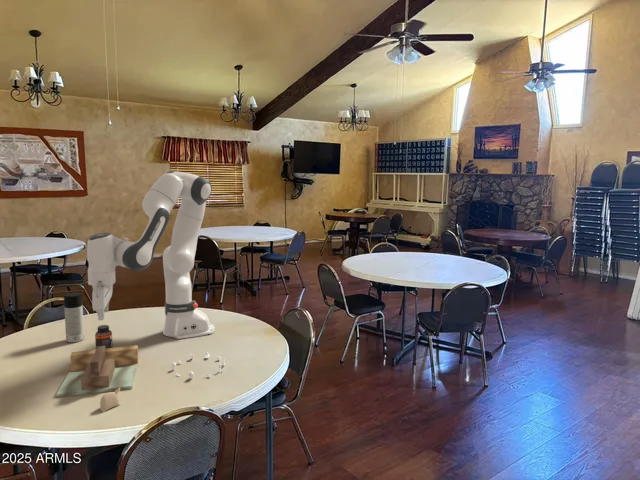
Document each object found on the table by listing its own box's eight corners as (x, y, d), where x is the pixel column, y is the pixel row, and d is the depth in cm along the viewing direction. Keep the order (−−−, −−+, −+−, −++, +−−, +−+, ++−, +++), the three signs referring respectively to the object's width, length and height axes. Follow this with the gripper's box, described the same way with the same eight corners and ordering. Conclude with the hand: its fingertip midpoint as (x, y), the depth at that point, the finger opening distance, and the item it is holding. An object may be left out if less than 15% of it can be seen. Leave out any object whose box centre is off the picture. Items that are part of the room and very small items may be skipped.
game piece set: (207, 385, 149) (207, 374, 149) (159, 374, 156) (159, 364, 156) (237, 363, 167) (237, 353, 167) (193, 354, 174) (192, 345, 174)
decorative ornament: (96, 409, 132) (95, 395, 131) (118, 399, 137) (118, 386, 137) (102, 412, 130) (102, 398, 129) (124, 403, 136) (124, 389, 135)
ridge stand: (136, 368, 160) (135, 342, 158) (132, 388, 145) (131, 359, 143) (68, 375, 153) (66, 348, 152) (56, 397, 138) (54, 367, 137)
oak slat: (138, 360, 168) (137, 345, 167) (138, 363, 165) (137, 348, 164) (72, 367, 160) (71, 352, 159) (71, 371, 156) (70, 355, 156)
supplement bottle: (116, 352, 173) (115, 325, 172) (103, 358, 168) (102, 329, 166) (105, 350, 176) (104, 323, 174) (92, 355, 170) (91, 327, 169)
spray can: (87, 337, 188) (85, 292, 186) (77, 343, 182) (75, 296, 179) (73, 336, 189) (70, 291, 186) (62, 342, 182) (59, 295, 180)
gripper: (107, 284, 149) (108, 324, 151) (115, 272, 168) (116, 307, 170) (86, 285, 147) (88, 325, 149) (97, 273, 166) (98, 308, 168)
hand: (103, 315), depth 159 cm, fingers open, 8 cm apart
